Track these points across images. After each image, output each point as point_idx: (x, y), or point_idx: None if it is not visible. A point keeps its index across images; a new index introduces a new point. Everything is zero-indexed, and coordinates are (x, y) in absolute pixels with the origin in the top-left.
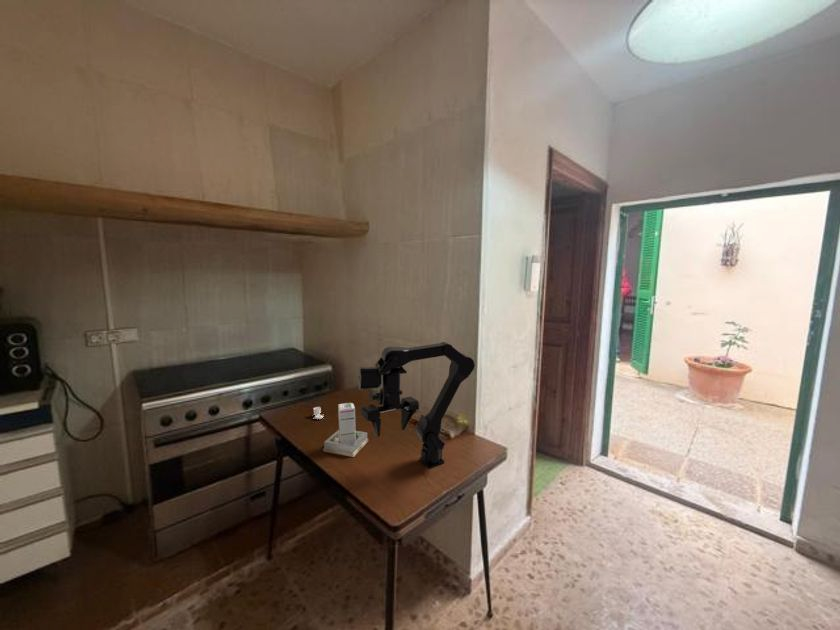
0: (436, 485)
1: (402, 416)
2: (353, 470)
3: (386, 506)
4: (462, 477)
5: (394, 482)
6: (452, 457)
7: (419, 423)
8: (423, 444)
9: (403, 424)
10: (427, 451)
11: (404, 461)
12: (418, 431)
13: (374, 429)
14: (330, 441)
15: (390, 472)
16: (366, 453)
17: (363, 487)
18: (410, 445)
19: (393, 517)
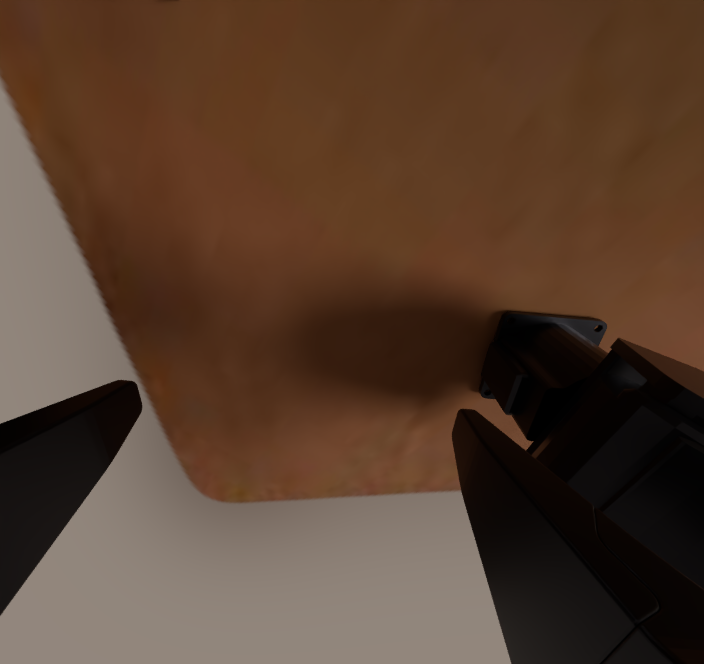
0: (411, 469)
1: (568, 592)
2: (144, 178)
3: (208, 453)
4: None
5: (292, 379)
6: None
7: (689, 508)
8: (551, 395)
9: (477, 503)
10: (517, 424)
11: (431, 277)
12: (586, 458)
13: (8, 425)
14: None
15: (314, 314)
16: (286, 13)
17: (161, 334)
18: (610, 133)
19: (209, 490)
